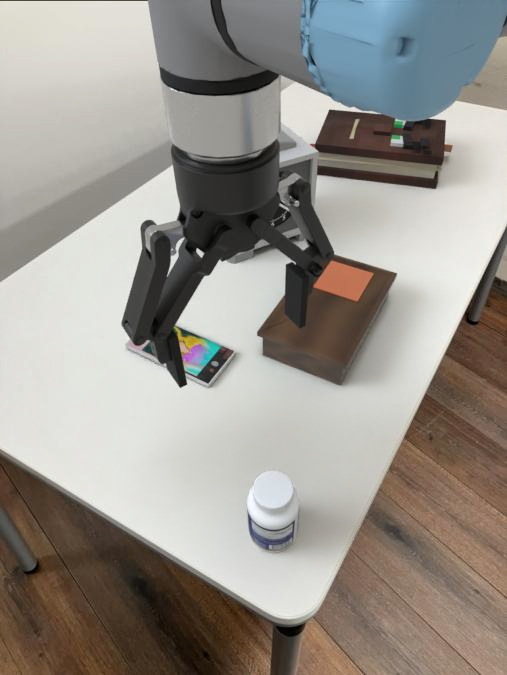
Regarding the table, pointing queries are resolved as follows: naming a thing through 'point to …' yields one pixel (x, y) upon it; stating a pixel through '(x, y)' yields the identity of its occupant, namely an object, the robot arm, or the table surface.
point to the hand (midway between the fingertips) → (238, 347)
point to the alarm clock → (292, 157)
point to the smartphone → (194, 355)
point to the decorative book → (381, 148)
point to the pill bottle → (273, 511)
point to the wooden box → (329, 319)
